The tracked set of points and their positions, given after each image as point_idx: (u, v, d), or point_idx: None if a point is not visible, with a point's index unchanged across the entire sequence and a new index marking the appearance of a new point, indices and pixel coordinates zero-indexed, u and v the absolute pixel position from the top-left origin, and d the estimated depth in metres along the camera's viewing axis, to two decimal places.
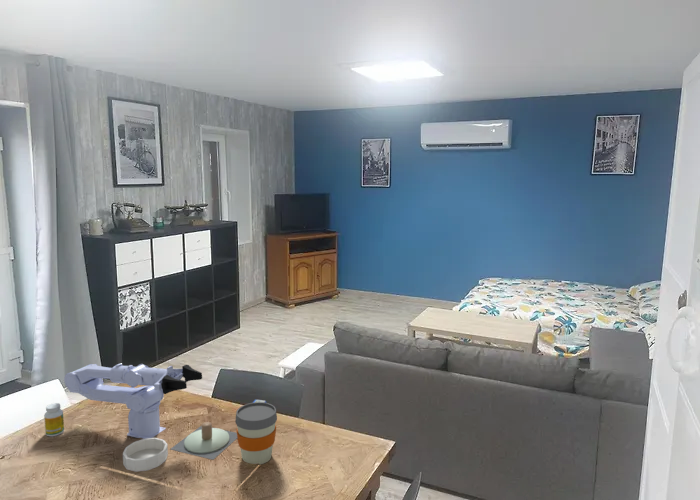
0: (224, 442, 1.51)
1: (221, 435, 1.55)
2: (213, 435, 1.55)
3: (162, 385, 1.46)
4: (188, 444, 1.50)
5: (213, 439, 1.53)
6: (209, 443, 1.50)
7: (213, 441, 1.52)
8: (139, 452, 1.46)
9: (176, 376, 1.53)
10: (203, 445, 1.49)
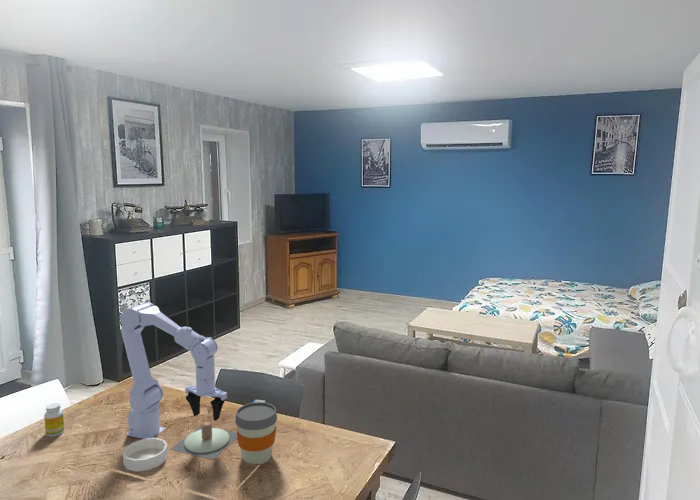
0: (224, 442, 1.51)
1: (221, 435, 1.55)
2: (213, 435, 1.55)
3: None
4: (188, 443, 1.50)
5: (213, 439, 1.53)
6: (209, 443, 1.50)
7: (213, 441, 1.52)
8: (139, 452, 1.46)
9: None
10: (203, 445, 1.49)
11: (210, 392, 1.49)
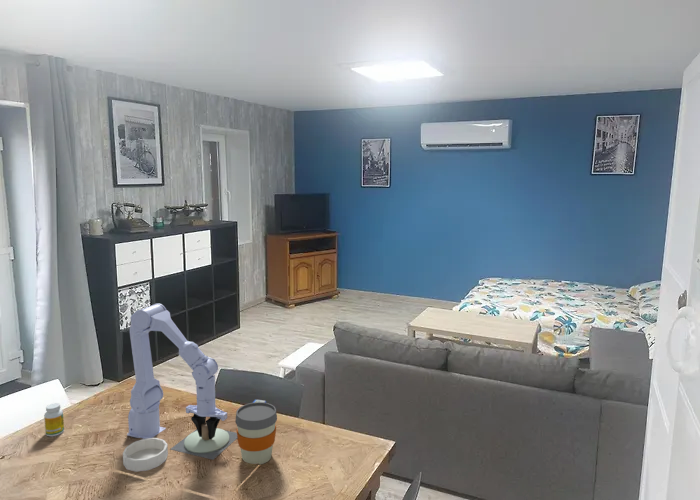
0: (224, 442, 1.51)
1: (221, 435, 1.55)
2: None
3: (218, 418, 1.51)
4: (188, 444, 1.50)
5: (213, 439, 1.53)
6: (209, 443, 1.50)
7: (213, 441, 1.52)
8: (139, 452, 1.46)
9: None
10: (203, 445, 1.49)
11: (210, 412, 1.50)
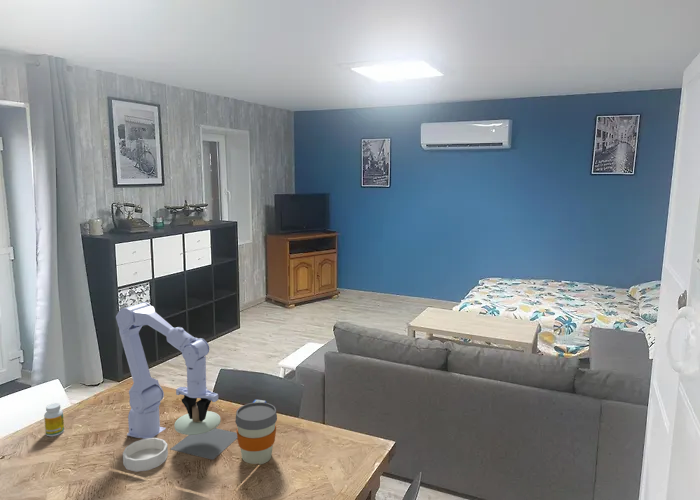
0: (215, 424, 1.49)
1: (212, 418, 1.53)
2: None
3: (208, 400, 1.48)
4: (178, 426, 1.47)
5: (204, 421, 1.50)
6: (200, 425, 1.48)
7: (204, 423, 1.49)
8: (139, 452, 1.46)
9: None
10: (193, 427, 1.47)
11: (201, 394, 1.47)
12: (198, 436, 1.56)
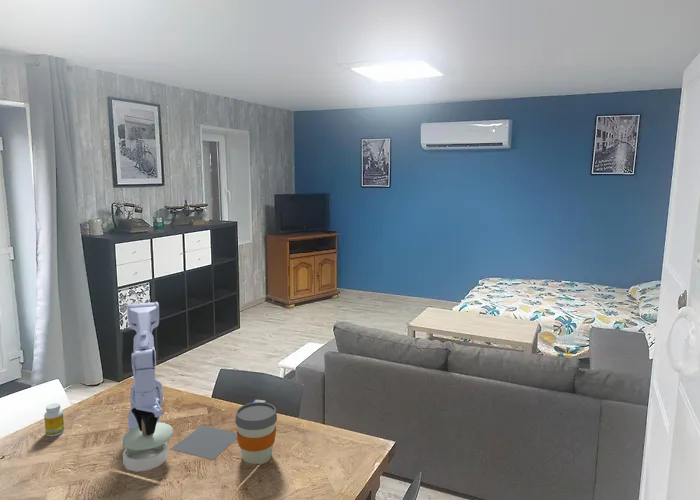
0: (160, 441, 1.38)
1: (164, 433, 1.43)
2: (157, 431, 1.44)
3: (154, 414, 1.39)
4: (127, 436, 1.41)
5: (153, 436, 1.41)
6: (145, 440, 1.39)
7: (151, 438, 1.40)
8: (139, 452, 1.46)
9: None
10: (138, 441, 1.39)
11: (146, 406, 1.38)
12: (198, 436, 1.56)
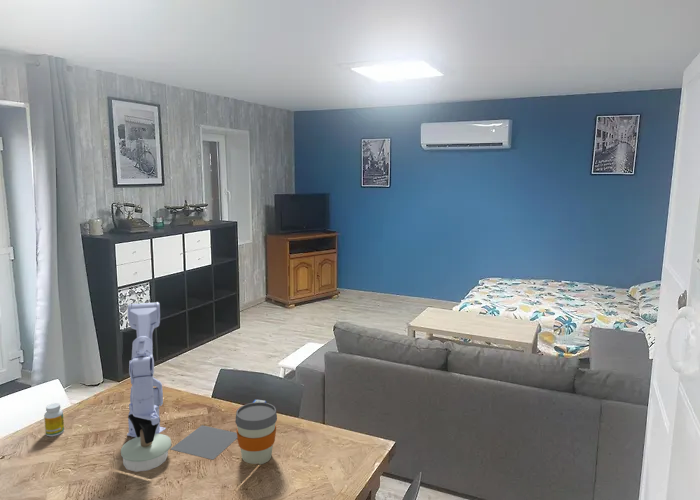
0: (157, 453, 1.38)
1: (162, 445, 1.43)
2: (155, 443, 1.44)
3: None
4: (125, 447, 1.41)
5: (151, 447, 1.41)
6: (143, 451, 1.39)
7: (149, 449, 1.40)
8: None
9: None
10: (136, 452, 1.39)
11: (144, 414, 1.38)
12: (198, 436, 1.56)
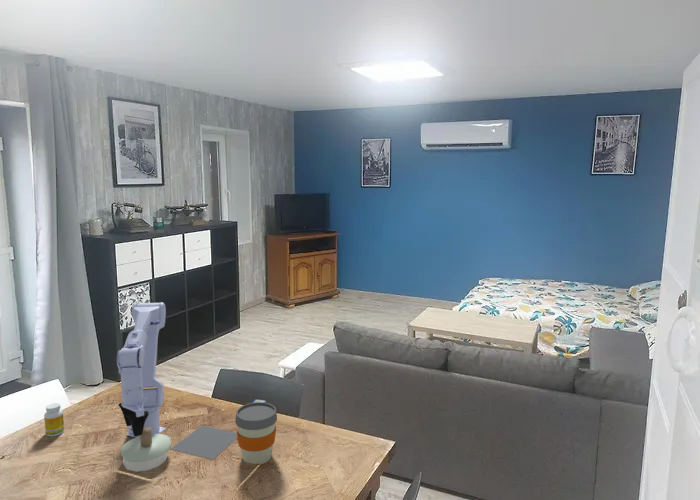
0: (157, 453, 1.38)
1: (162, 445, 1.43)
2: (155, 443, 1.44)
3: (140, 415, 1.36)
4: (125, 447, 1.41)
5: (151, 447, 1.41)
6: (143, 451, 1.39)
7: (149, 449, 1.40)
8: None
9: None
10: (136, 452, 1.39)
11: (131, 405, 1.37)
12: (198, 436, 1.56)
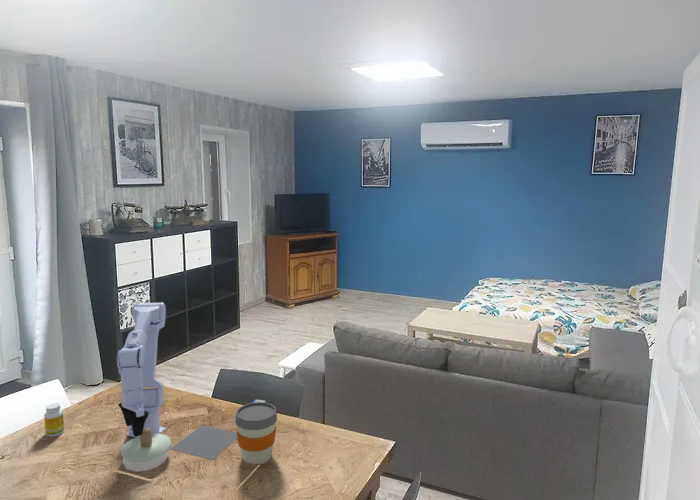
0: (157, 453, 1.38)
1: (162, 445, 1.43)
2: (155, 443, 1.44)
3: (140, 415, 1.36)
4: (125, 447, 1.41)
5: (151, 447, 1.41)
6: (143, 451, 1.39)
7: (149, 449, 1.40)
8: None
9: None
10: (136, 452, 1.39)
11: (131, 405, 1.37)
12: (198, 436, 1.56)
